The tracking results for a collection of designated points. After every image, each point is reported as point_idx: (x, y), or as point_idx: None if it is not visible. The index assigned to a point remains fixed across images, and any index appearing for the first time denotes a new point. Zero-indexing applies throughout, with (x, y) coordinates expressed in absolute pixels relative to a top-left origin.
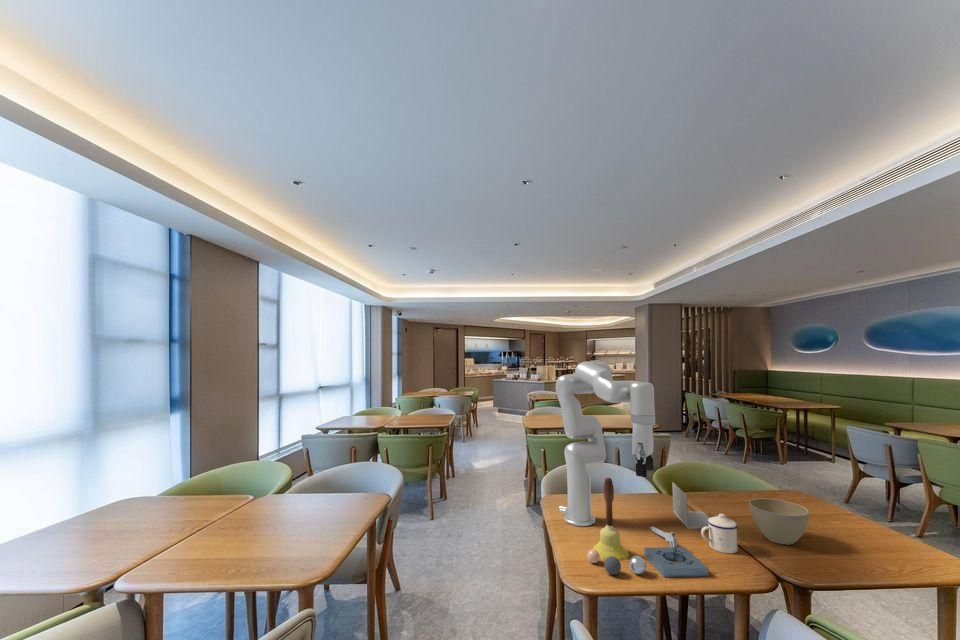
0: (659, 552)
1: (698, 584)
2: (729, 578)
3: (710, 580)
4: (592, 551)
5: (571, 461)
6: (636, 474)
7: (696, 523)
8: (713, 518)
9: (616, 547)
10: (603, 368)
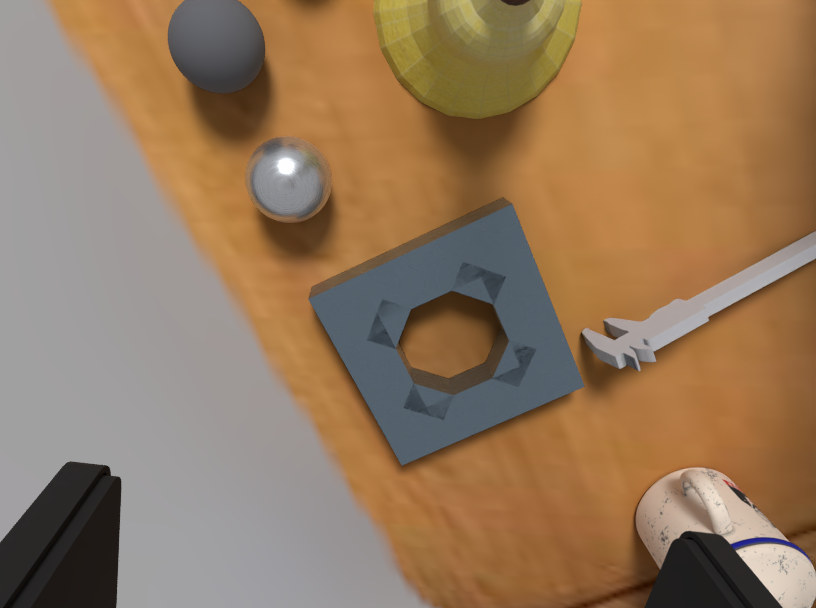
0: (480, 279)
1: (313, 410)
2: (415, 508)
3: (368, 450)
4: None
5: None
6: (59, 476)
7: None
8: (768, 577)
9: (438, 48)
10: None
